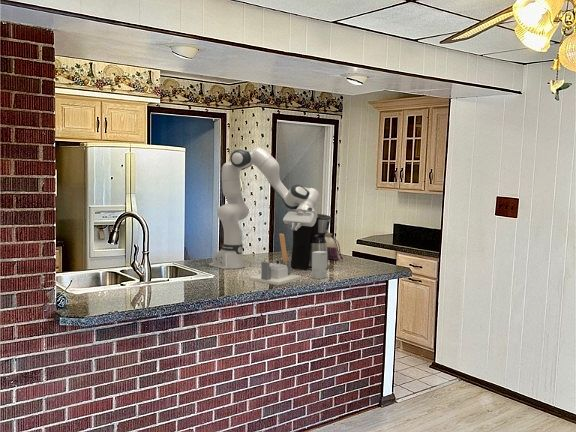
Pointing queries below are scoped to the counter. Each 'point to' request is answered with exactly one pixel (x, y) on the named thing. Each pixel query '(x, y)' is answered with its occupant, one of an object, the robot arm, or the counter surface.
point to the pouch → (332, 247)
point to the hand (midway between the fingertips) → (293, 229)
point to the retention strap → (283, 248)
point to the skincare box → (319, 264)
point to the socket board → (276, 281)
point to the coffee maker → (309, 243)
